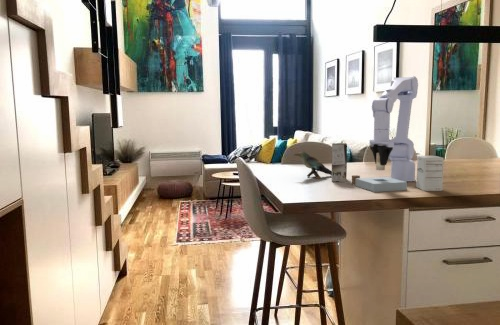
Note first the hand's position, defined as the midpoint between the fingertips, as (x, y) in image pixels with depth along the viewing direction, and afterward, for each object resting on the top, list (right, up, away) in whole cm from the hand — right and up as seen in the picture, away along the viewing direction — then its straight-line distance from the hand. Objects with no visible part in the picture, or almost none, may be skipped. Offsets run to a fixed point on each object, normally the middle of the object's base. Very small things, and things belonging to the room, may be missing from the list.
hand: (380, 164), depth 163 cm
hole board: (0, -9, +1) cm, 9 cm away
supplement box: (+18, -10, -3) cm, 20 cm away
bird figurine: (-21, -6, +29) cm, 37 cm away
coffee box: (-12, -7, +21) cm, 25 cm away
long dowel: (0, -2, 0) cm, 2 cm away
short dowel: (-7, -8, +10) cm, 15 cm away
